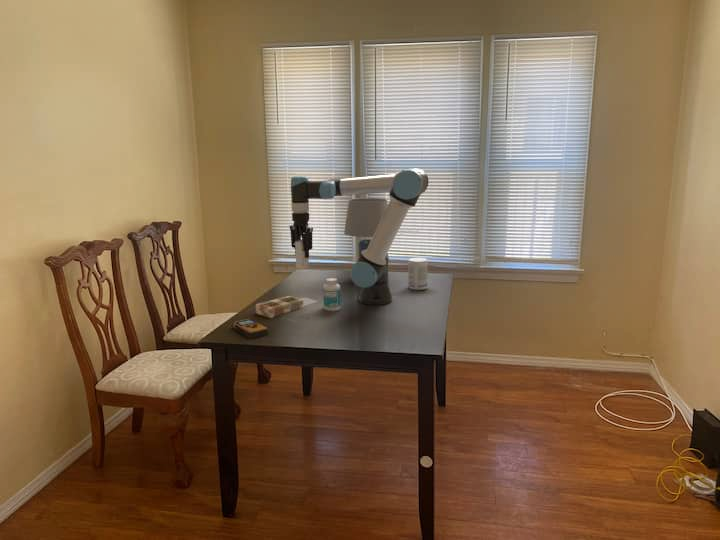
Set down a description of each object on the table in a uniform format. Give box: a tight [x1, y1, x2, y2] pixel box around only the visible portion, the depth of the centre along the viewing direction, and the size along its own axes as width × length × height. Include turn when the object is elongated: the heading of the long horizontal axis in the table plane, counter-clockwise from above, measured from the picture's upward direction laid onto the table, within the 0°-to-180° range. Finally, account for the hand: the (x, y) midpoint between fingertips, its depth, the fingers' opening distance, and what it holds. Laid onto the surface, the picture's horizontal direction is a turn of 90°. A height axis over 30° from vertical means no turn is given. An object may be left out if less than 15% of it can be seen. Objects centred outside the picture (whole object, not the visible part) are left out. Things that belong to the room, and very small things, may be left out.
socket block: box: [255, 295, 304, 319], centre depth 224 cm, size 10×18×4 cm, turn 137°
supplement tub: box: [407, 257, 428, 291], centre depth 260 cm, size 10×10×15 cm
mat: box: [300, 297, 319, 307], centre depth 237 cm, size 10×10×1 cm
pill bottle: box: [322, 277, 342, 312], centre depth 225 cm, size 8×7×14 cm
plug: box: [294, 238, 310, 270], centre depth 232 cm, size 4×4×13 cm
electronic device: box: [232, 317, 269, 339], centre depth 200 cm, size 8×16×3 cm, turn 38°
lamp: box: [343, 197, 389, 259], centre depth 274 cm, size 25×25×43 cm
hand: (302, 264), depth 233 cm, fingers closed on plug, 4 cm apart
